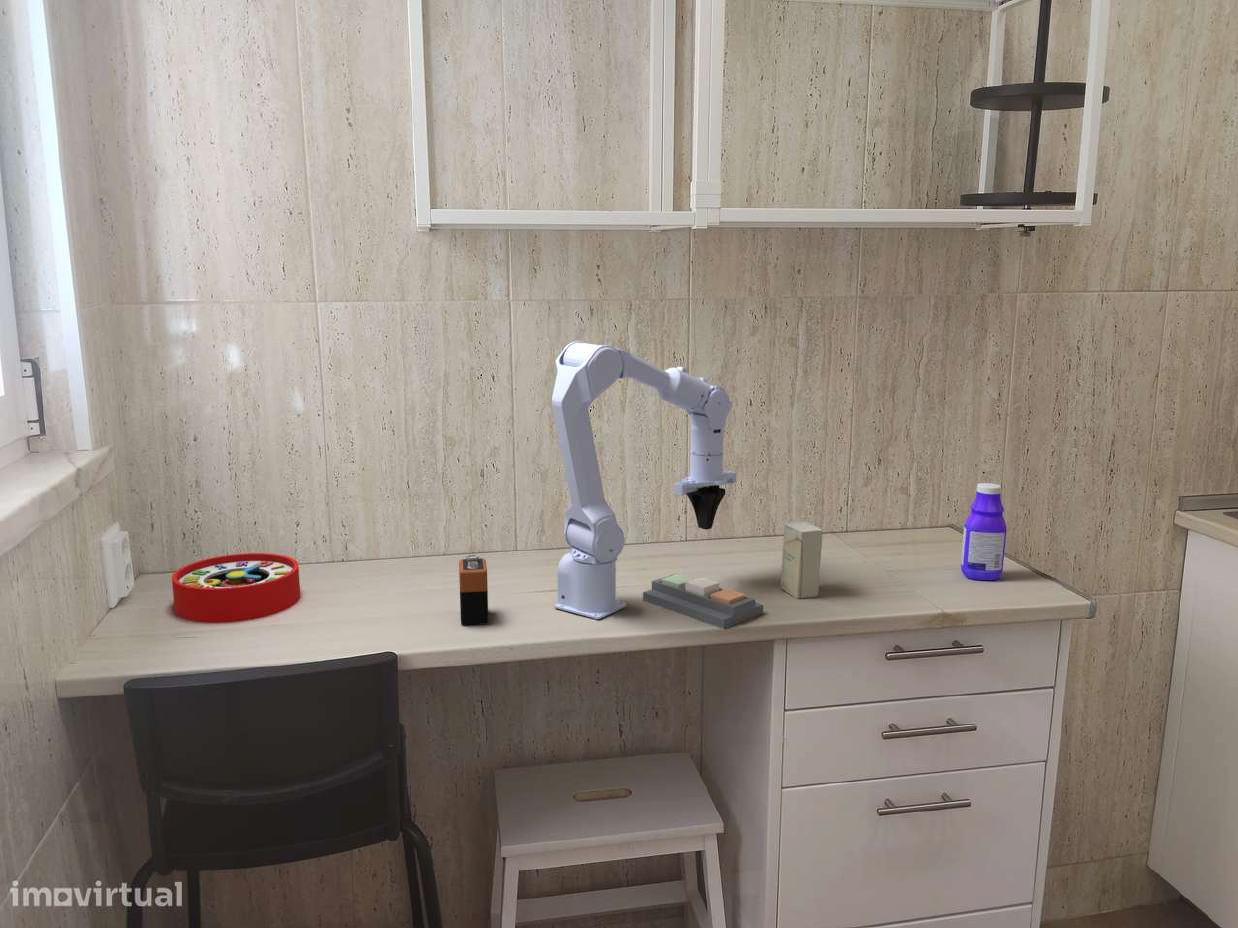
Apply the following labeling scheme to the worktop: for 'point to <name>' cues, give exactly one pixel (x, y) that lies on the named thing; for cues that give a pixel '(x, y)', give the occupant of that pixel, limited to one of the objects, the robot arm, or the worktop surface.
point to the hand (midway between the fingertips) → (705, 528)
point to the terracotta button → (727, 596)
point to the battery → (473, 590)
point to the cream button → (702, 586)
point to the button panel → (701, 605)
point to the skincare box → (801, 559)
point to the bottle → (984, 535)
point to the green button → (676, 580)
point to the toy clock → (236, 587)
